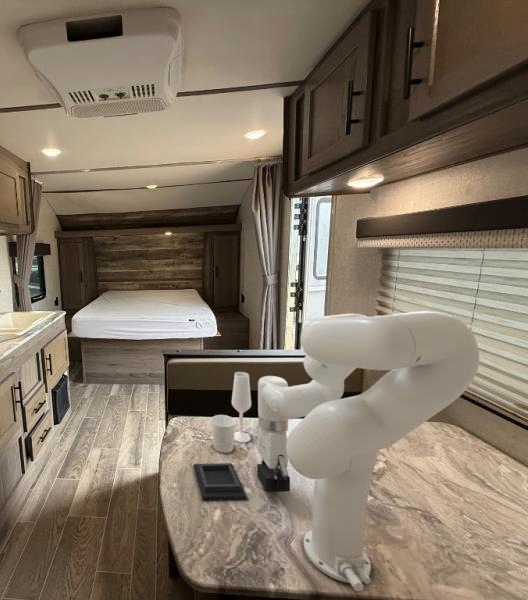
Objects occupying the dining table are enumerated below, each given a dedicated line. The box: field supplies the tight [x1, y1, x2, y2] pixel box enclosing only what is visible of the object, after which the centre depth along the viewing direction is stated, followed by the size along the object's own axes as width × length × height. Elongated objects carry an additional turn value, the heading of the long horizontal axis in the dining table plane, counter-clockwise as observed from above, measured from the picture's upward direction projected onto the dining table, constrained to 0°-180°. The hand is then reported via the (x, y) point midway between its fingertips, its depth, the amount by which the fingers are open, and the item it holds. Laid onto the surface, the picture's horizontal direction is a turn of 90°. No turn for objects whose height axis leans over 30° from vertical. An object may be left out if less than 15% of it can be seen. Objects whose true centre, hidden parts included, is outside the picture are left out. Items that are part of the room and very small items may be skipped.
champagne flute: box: [231, 371, 252, 443], centre depth 118 cm, size 7×7×24 cm
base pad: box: [193, 462, 247, 501], centre depth 97 cm, size 14×12×2 cm
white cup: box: [211, 414, 236, 454], centre depth 113 cm, size 8×8×10 cm
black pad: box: [256, 463, 291, 493], centre depth 92 cm, size 6×6×4 cm
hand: (273, 481), depth 92 cm, fingers closed on black pad, 6 cm apart
